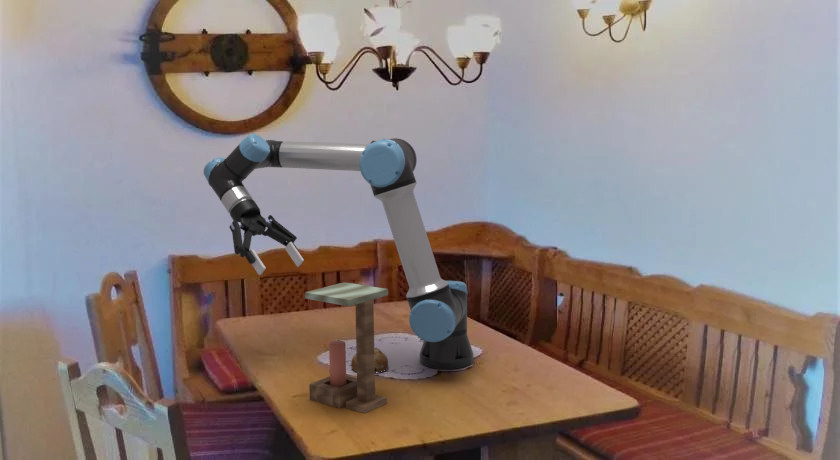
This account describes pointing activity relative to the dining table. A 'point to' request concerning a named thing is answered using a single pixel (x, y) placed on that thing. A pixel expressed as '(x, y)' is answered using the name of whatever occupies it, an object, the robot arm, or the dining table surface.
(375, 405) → the awning socket
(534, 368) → the dining table surface
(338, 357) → the peg
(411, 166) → the robot arm
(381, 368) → the bread roll
